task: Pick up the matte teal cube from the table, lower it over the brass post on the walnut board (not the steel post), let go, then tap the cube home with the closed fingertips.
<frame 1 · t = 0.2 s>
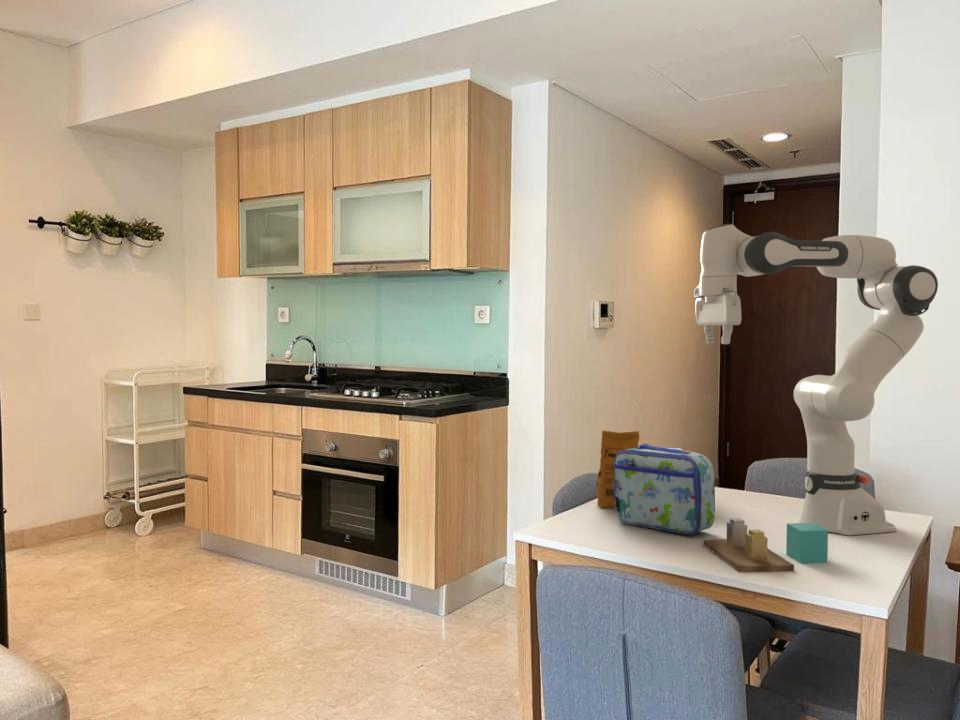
hand: (717, 343, 188), 47 cm above the table, tool pointing down, fingers open, 8 cm apart
lunch box: (661, 528, 191), on the table
matte teal cube: (806, 558, 165), on the table
brass post: (755, 564, 161), resting on walnut board
steel post: (736, 550, 171), resting on walnut board
snack box: (679, 504, 218), on the table
coffee package: (618, 506, 215), on the table
walnut board: (746, 557, 166), on the table
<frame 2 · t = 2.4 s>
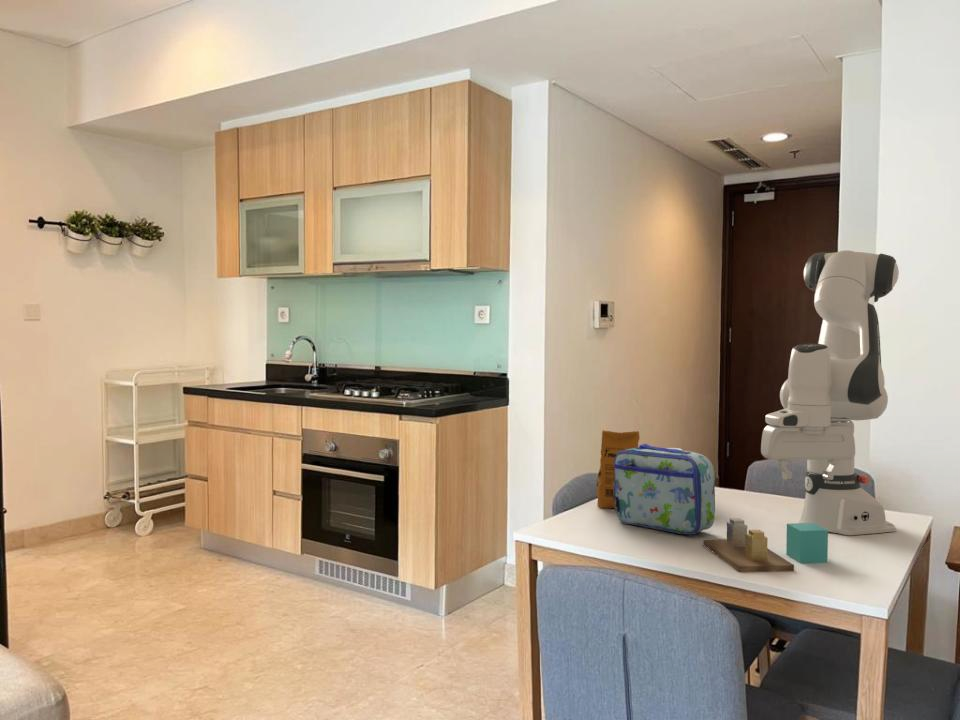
hand: (807, 479, 164), 18 cm above the table, tool pointing down, fingers open, 8 cm apart
nothing on the table moved.
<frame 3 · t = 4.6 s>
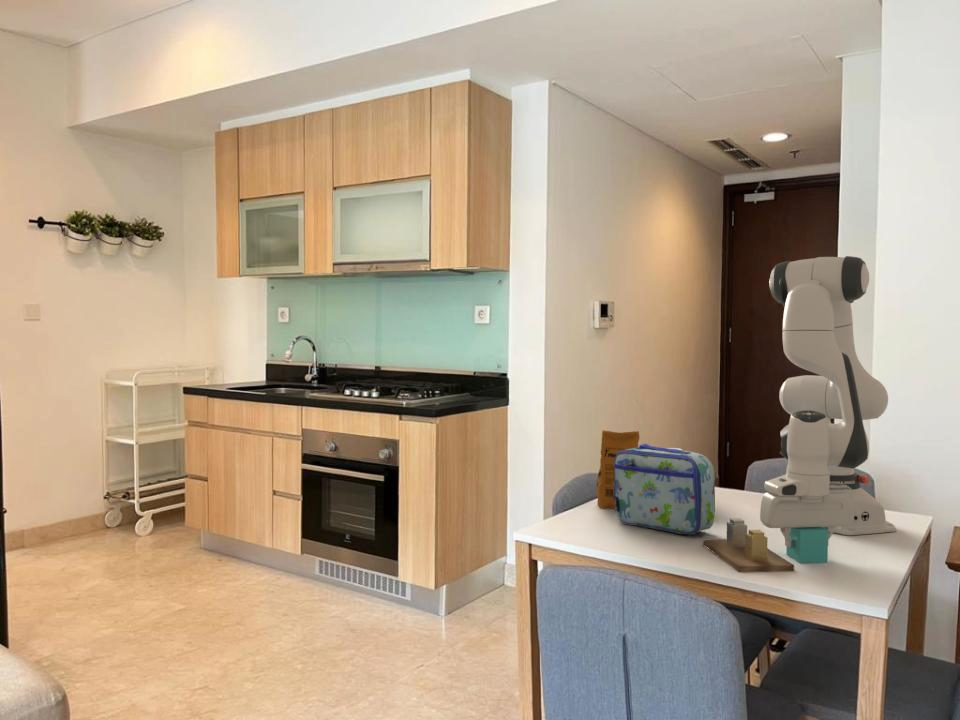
hand: (806, 546, 165), 3 cm above the table, tool pointing down, fingers closed on matte teal cube, 6 cm apart
matte teal cube: (806, 558, 165), on the table, touching gripper
everything else where it was.
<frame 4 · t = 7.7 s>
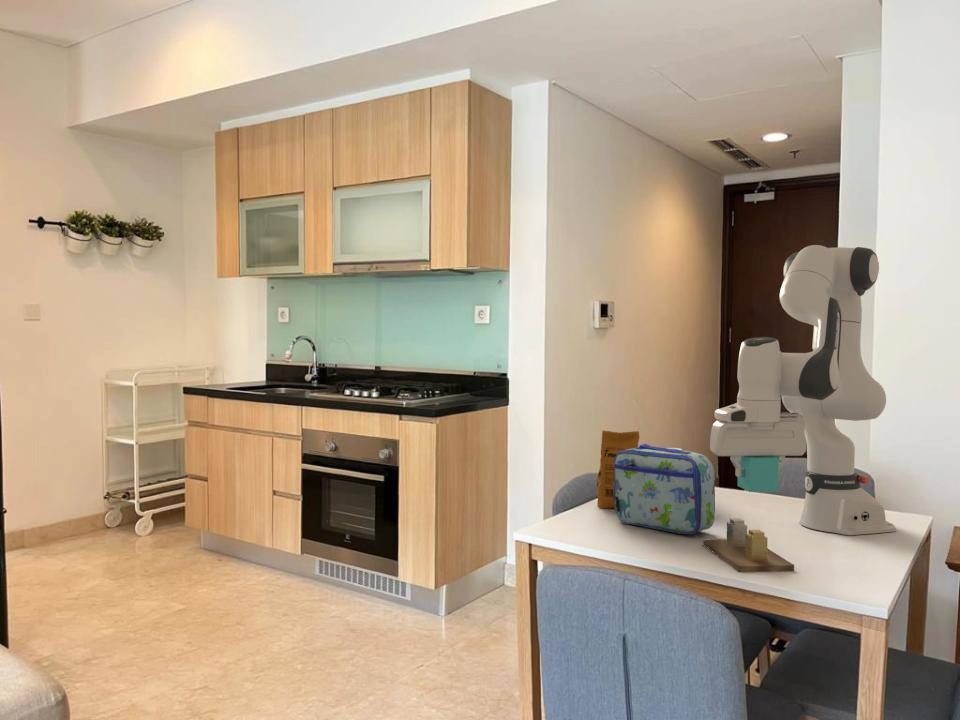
hand: (757, 476, 160), 19 cm above the table, tool pointing down, fingers closed on matte teal cube, 6 cm apart
matte teal cube: (757, 488, 160), point 17 cm above the table, touching gripper
everything else where it was.
when the fingers open (5 cm above the table, at t = 10.9 s): matte teal cube drops 1 cm, resting on walnut board.
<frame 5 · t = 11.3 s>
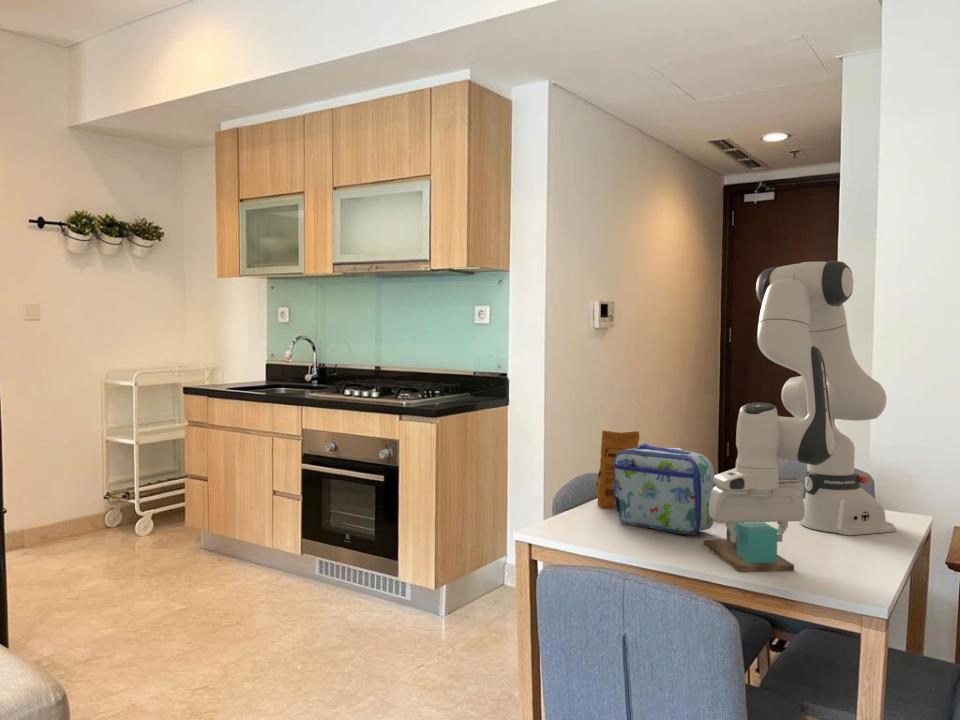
hand: (756, 541, 161), 5 cm above the table, tool pointing down, fingers open, 8 cm apart
matte teal cube: (756, 558, 161), point 1 cm above the table, touching walnut board
everything else where it was.
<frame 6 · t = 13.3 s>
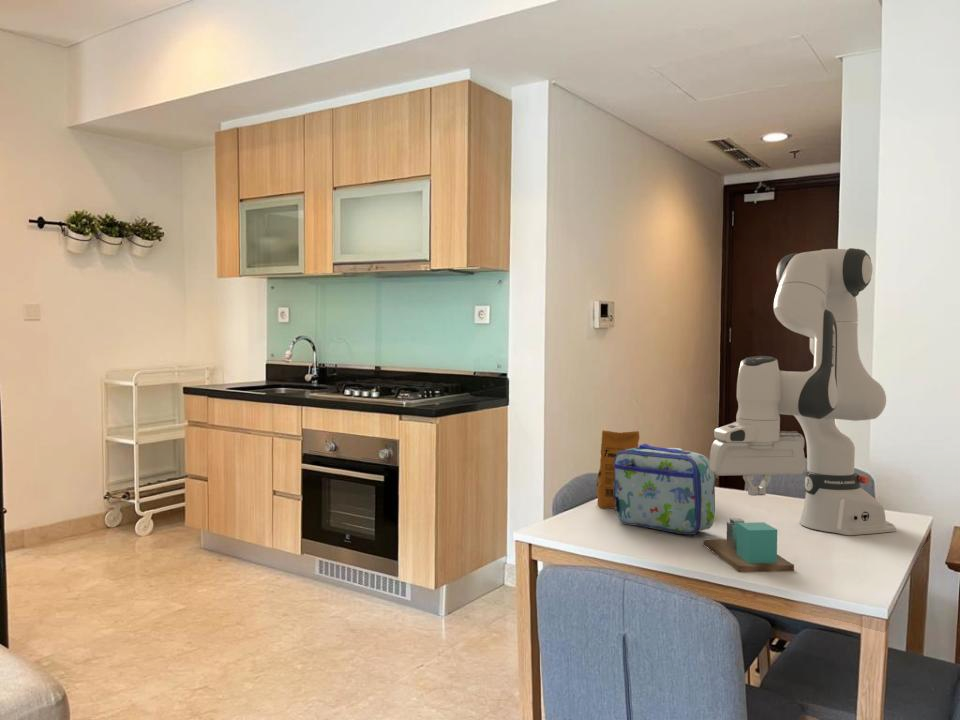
hand: (756, 495, 160), 15 cm above the table, tool pointing down, fingers closed
nothing on the table moved.
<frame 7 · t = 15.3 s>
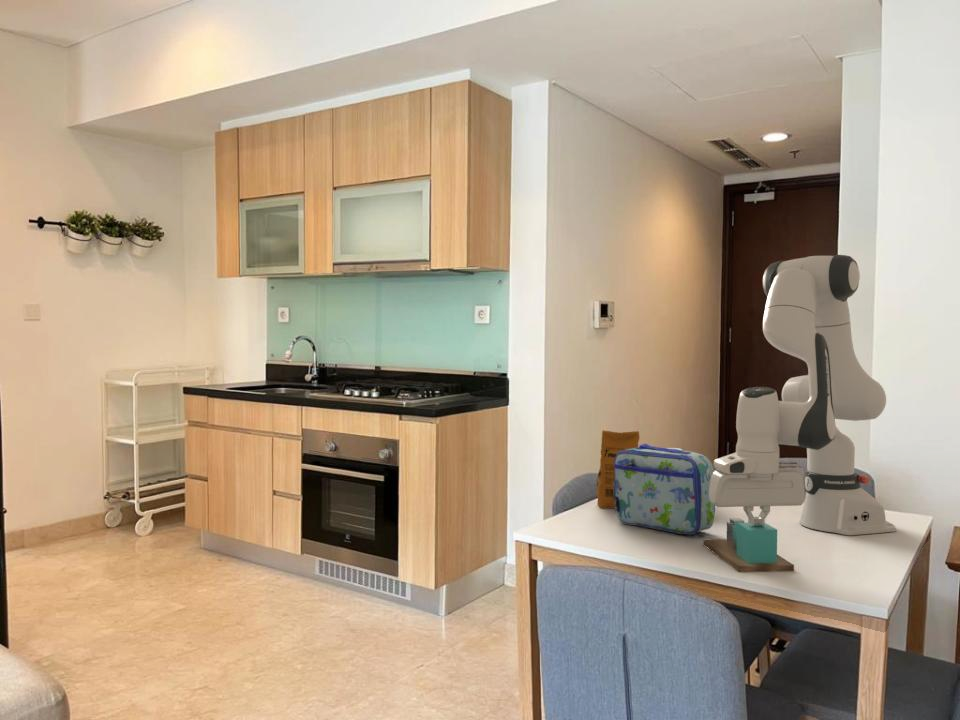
hand: (756, 526, 161), 8 cm above the table, tool pointing down, fingers closed, pressing on matte teal cube
matte teal cube: (756, 558, 161), point 1 cm above the table, touching gripper, walnut board
everything else where it was.
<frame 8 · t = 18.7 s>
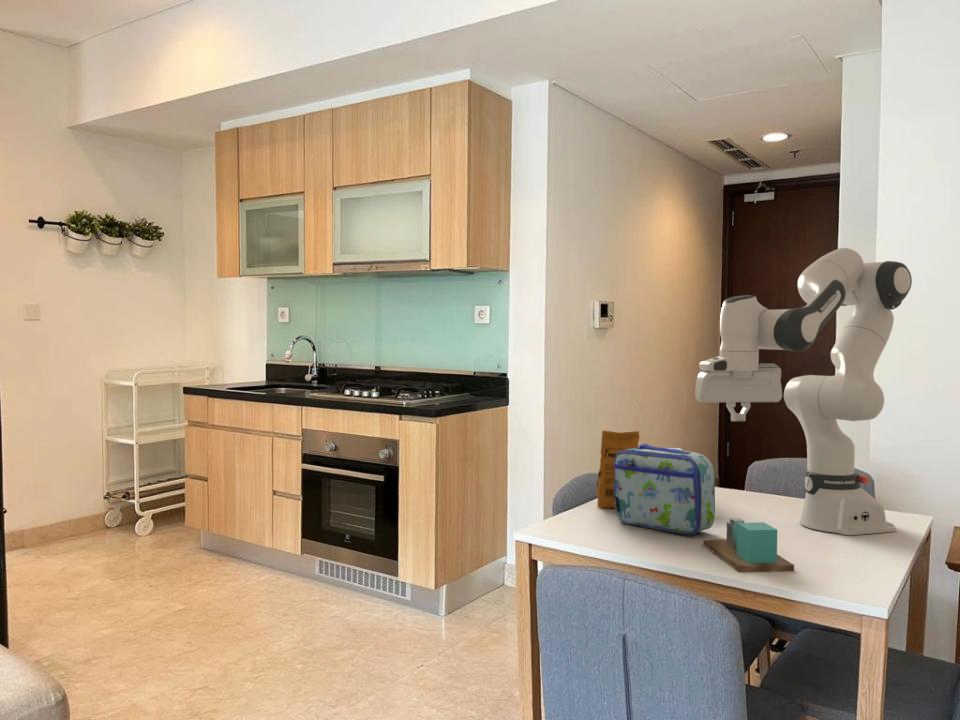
hand: (738, 421, 177), 29 cm above the table, tool pointing down, fingers closed
matte teal cube: (756, 558, 161), point 1 cm above the table, touching walnut board
everything else where it was.
at the end: matte teal cube 0.1 cm from the brass post (horizontally); matte teal cube point 1.2 cm above the table; matte teal cube tilted 0° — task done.
